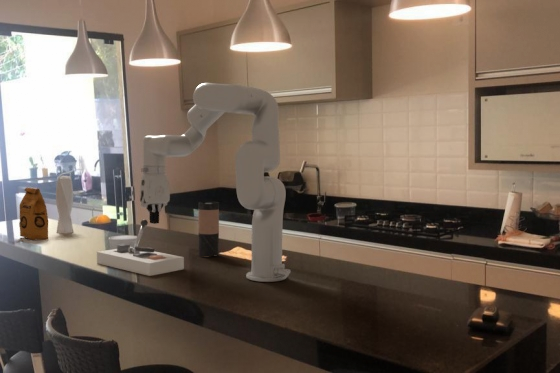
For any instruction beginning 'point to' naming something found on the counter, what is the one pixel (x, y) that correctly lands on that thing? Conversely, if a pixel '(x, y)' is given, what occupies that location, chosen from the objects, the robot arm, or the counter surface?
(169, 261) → the control panel
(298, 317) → the counter surface
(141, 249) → the black rocker
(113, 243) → the ramekin
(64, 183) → the skyscraper
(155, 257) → the terracotta button
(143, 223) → the toggle lever
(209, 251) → the travel mug
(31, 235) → the coffee package
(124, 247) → the charcoal button
